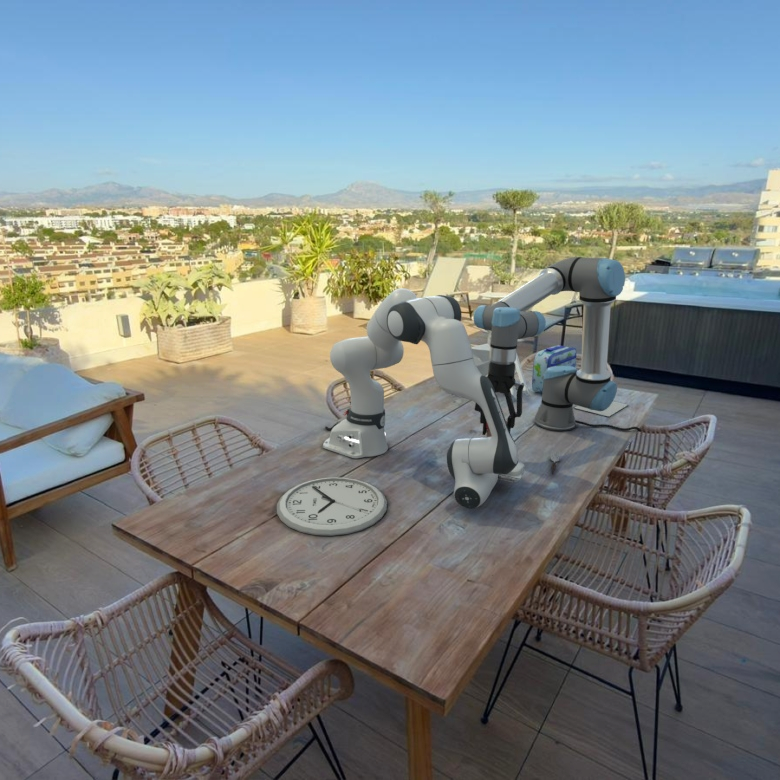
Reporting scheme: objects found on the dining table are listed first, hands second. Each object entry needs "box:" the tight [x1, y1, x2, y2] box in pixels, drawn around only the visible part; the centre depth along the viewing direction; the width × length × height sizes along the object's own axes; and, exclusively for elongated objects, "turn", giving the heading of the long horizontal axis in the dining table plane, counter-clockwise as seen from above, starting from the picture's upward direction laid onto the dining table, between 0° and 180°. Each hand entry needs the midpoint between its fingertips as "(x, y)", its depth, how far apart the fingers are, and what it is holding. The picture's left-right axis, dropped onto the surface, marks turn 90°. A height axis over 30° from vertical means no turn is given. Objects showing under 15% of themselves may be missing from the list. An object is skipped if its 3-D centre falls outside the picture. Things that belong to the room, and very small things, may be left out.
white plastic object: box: [471, 342, 531, 400], centre depth 245 cm, size 37×45×31 cm
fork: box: [550, 450, 560, 475], centre depth 169 cm, size 3×16×2 cm, turn 160°
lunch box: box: [531, 345, 577, 393], centre depth 245 cm, size 26×11×21 cm, turn 134°
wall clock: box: [276, 476, 388, 537], centre depth 142 cm, size 30×2×30 cm
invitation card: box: [573, 400, 629, 418], centre depth 226 cm, size 21×1×15 cm
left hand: (494, 455), depth 161 cm, fingers closed on jar, 5 cm apart
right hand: (496, 435), depth 158 cm, fingers closed on lid, 6 cm apart
